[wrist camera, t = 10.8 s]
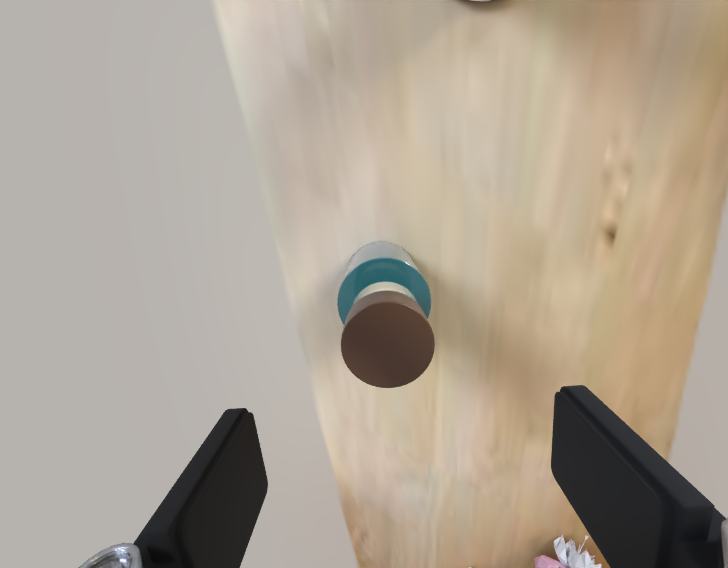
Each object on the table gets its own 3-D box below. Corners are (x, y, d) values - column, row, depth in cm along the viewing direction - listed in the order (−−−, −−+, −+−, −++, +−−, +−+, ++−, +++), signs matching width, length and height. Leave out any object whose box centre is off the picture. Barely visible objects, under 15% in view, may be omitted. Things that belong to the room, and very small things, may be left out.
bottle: (380, 226, 34) (385, 246, 20) (429, 274, 35) (469, 326, 21) (333, 276, 35) (305, 329, 21) (382, 320, 37) (387, 400, 22)
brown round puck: (385, 272, 20) (386, 282, 18) (445, 329, 21) (454, 345, 18) (327, 331, 21) (321, 347, 19) (386, 383, 22) (388, 405, 19)
